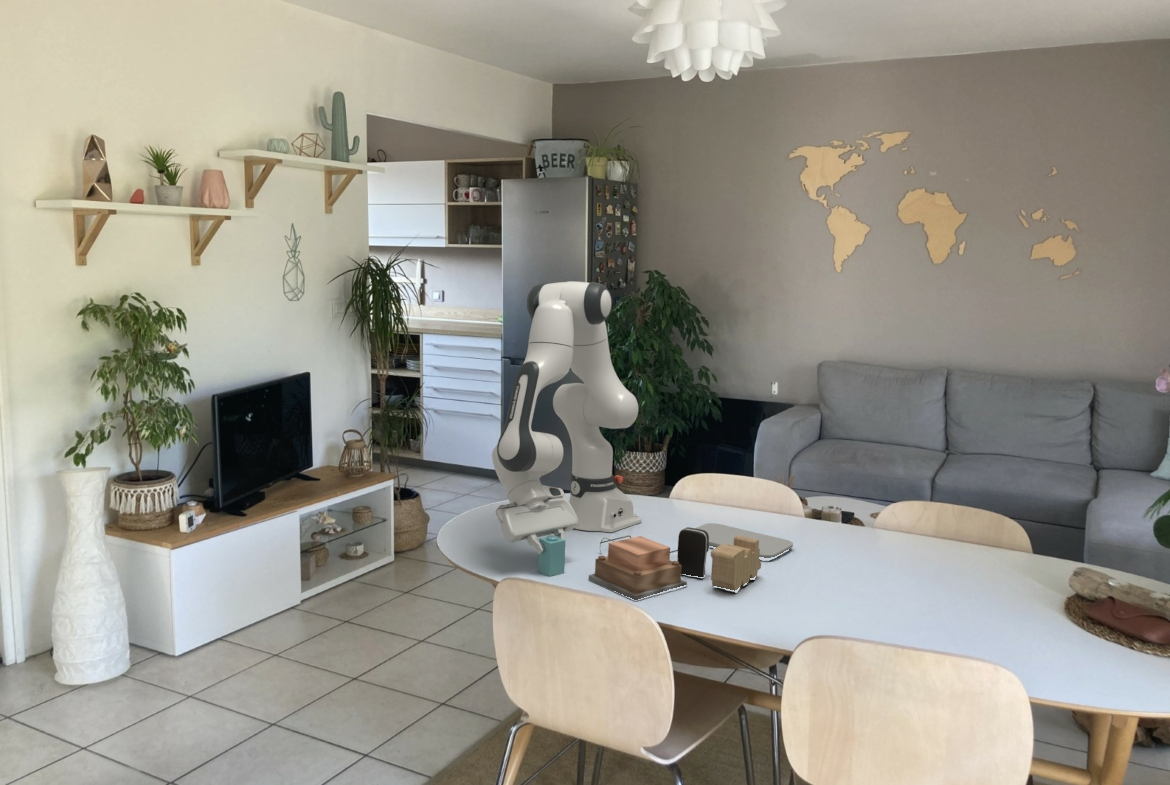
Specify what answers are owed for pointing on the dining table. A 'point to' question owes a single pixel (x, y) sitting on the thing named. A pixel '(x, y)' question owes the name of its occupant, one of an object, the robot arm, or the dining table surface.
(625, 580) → the wooden stepped box
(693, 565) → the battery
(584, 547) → the dining table surface
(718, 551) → the toy train
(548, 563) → the teal brick
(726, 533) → the tablet
